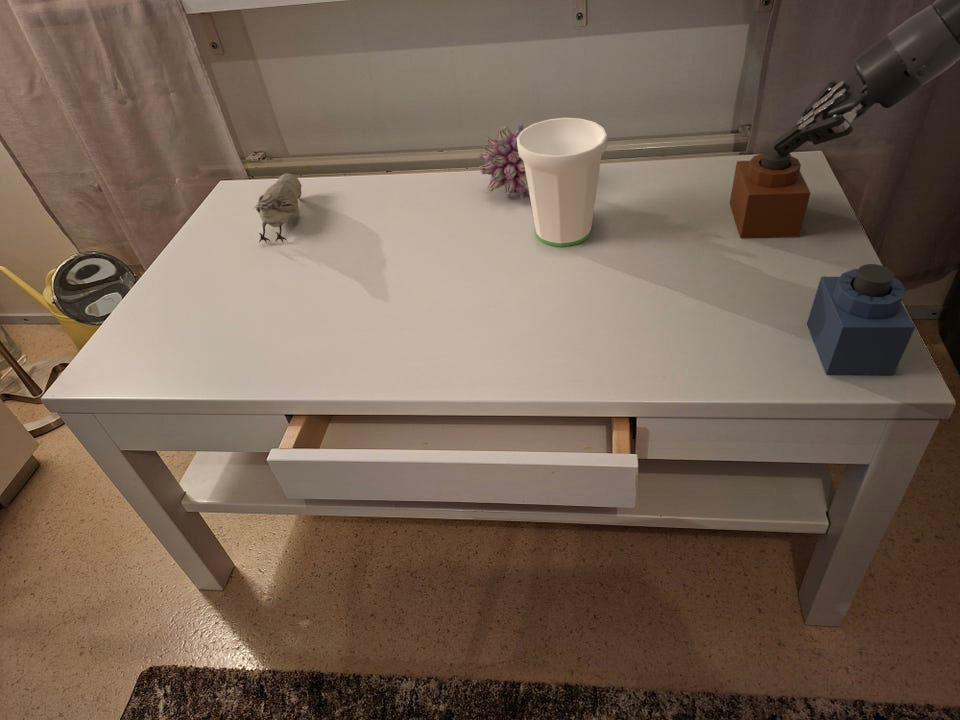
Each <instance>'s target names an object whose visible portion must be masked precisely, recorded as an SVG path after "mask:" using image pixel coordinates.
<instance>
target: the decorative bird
mask: <svg viewBox="0 0 960 720" xmlns="http://www.w3.org/2000/svg"><path fill="white" fill-rule="evenodd" d="M301 197H302V183H301V182H300V180H299V179H298V177H297V176H296V175H295V174H292V173H289V172H287V173H283V174H282V175H280V176H279V177H278V179H277V181H275V183H274V184H271V185H270V186H269V187H268V188H267V189H266V190H265V192H264V193H263V194H261V195H260V196H259V198H258V202H257V203H256V205H255V206H254V207H253V208H252V210H254V209H255V211H257V213H258V214H259V218H260V219H261V224H262V233H261V232H258V234H259V237H260V239H259V241H258V243H259V244H260V243H261V242H262V241H264V242H265V244H266V245H267V244H268V242H270V243H272V241H271V239H270V238H267V237H266V236H265V235H266V226H267V225H269V226H271V227H273V228H279V232H277V231H275V233H276V238H275V243H276V242H277V241H278V240H280V241H281V242H282V243H284V240H286V242H288V239H287V238H285V237H284V236H282V230H283V228H282V226H283V225H285V224H286V223H287V222H288V221H289V220H290V219H291V218H292V217H293V216H296V215H297V214H298V212H299V201H298V200H300V199H301ZM267 241H268V242H267Z"/></svg>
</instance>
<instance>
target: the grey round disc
mask: <svg viewBox="0 0 960 720" xmlns="http://www.w3.org/2000/svg"><path fill="white" fill-rule="evenodd" d="M791 156H792V155H791V153H789V154H788V155H786V156H785V157H781V156H780V155H779V154H778V153H777V152H776V151H775V149H774V148H771V149H767V150H765V151H763V156H762V161H761V166H762V167H763V168H765V169H770V170H784V169H787V168H788V166H789V162H790V157H791Z"/></svg>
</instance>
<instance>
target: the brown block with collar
mask: <svg viewBox="0 0 960 720" xmlns="http://www.w3.org/2000/svg"><path fill="white" fill-rule="evenodd" d="M763 153H764V152H763ZM763 153H760V154H756V155H753V157H752V158H751V159H750V160H738V161H737V160H736V164H735V169H734V175H733V181H732V187H731V191H730V199H729V205H730V208H731V212H732V215H733V219H734V222H735V225H736V229H737V231H738V235H739V238H740V239H760V238H761V239H763V238H764V239H765V238H769V239H770V238H799V237H800V235H801V231H802V227H803V225H804V224H803V223H804V220H805V216H806V212H807V209H808V205H809V201H810V196H811V190H810V189H809V187H808V185H807V182H806V180H805V178H804V177H803V174H802V172H801V167H802V165H801V163H800V160H799V159H798V157H797V158H796V157H794V156H793V155H791V157H790V162H789V166H788V168H787V169H784V170H770V169H765V168H763V167H762V166H761V161H762V156H763Z"/></svg>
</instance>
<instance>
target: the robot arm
mask: <svg viewBox="0 0 960 720" xmlns="http://www.w3.org/2000/svg"><path fill="white" fill-rule="evenodd" d="M958 61H960V0H935V1H934V2H933V3H932V4H930V5H928V6H927V7H925V8H924V9H922V10H921V11H919V12H917V13H915V14H913V15H912V16H910V17H909V18H908V19H906V20H905V21H903V22H902V23H901V24H900V25H898V26H897V27H895V28H894V29H893V30H891V31H890V32H889V33H888V34H886V35H885V36H883V37H882V38H881V39H879V40H877V42H876V43H874V44H872V45H871V46H870V47H868V48H867V49H866V50H865V51H863V52H862V53H860V54H859V55H858V56H857V57H855V59H853V68H854V70H855V72H856V73H854V74H853V75H851V76H849V77H847V78H845V79H844V80H842V81H840V82H837V81H836V80H835V79H833V80H831V81H828V82H827V84H826V85H825V86H824V87H823V89H822V90H821V91H820V92H819V93H818V94H817V95H816V96H815V98H813V100H812V101H810V103H809V104H808V105H807V106H806V108H805V109H803V111H802V112H801V114H800V115H801V116H802V117H801V118H800V119H798V121H797V124H795V126H793V127H792V128H790V129H789V130H787V131H786V132H784V133H783V134H782V135H780V137H778V138H776V139H775V140H774V141H773V149H775V151H776V152H777V153H778V154H779V155H780V156H781V157H785V156H786V155H788V154H789V153H790V154H791V153H792V152H794V151H796V150H797V149H798V148H799V147H801V146H803V145H804V144H806V143H807V142H808V143H812V144H813V145H814V146H815V145H820V144H823V143H826V142H829V141H833V140H836V139H839V138H842V137H846V136H848V135H850V134H851V133H852V132H853V131H854V127H853V126H852V125H851V124H852V122H854V121H855V120H857V119H858V118H860V117H861V116H862V115H864V114H865V113H867V111H869V109H871V108H872V107H873V106H874V105H876V104H879V105H880V106H881V107H882V108H885V109H889V108H892V107H893V106H895V105H897V104H898V103H899V102H901V101H903V100H904V99H905V98H907V97H908V96H910V95H912V94H913V93H914V92H916V91H918V90H919V89H920V88H922V87H923V86H925V85H926V84H928V83H929V82H931V81H932V80H934V79H935V78H937V77H938V76H940V75H941V74H943V73H944V72H946V71H947V70H948V69H949V68H951V67H952V66H953V65H955V64H956V63H957V62H958Z"/></svg>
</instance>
